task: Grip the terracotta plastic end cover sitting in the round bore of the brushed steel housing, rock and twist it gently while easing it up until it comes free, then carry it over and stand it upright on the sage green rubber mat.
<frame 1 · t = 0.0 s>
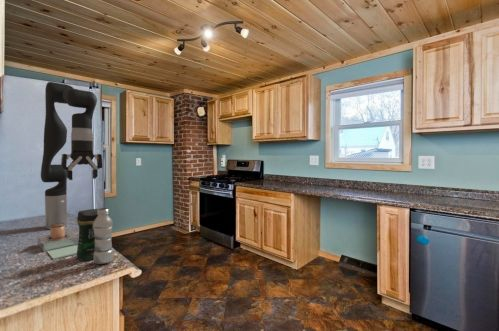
hand: (82, 179, 108), 29 cm above the counter, tool pointing down, fingers open, 8 cm apart
end cover: (57, 234, 114), in the housing
coffee jar: (92, 257, 102), on the counter
plastic bottle: (103, 263, 97), on the counter
housing: (57, 244, 114), on the counter
mat: (65, 252, 106), on the counter
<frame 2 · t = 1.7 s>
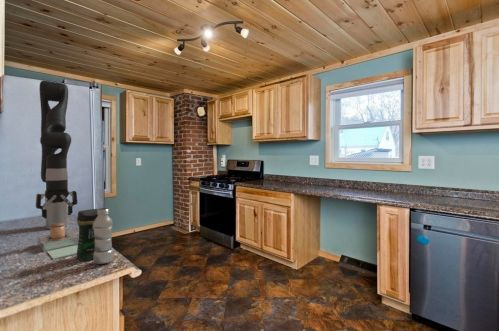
hand: (57, 216, 113), 13 cm above the counter, tool pointing down, fingers open, 8 cm apart
nothing on the counter moved.
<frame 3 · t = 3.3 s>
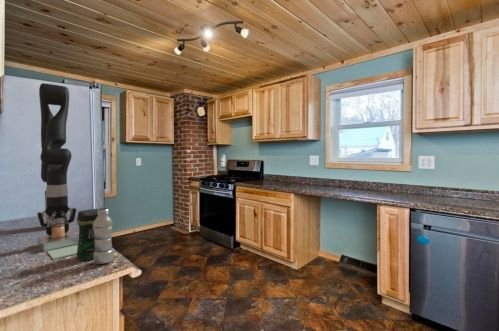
hand: (57, 233, 114), 5 cm above the counter, tool pointing down, fingers closed on end cover, 5 cm apart
end cover: (57, 234, 114), in the housing, touching gripper
everything else where it was.
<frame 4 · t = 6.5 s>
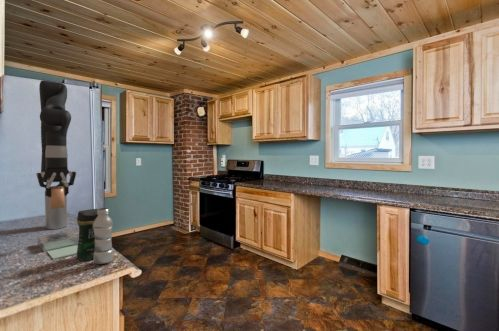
hand: (57, 195, 113), 21 cm above the counter, tool pointing down, fingers closed on end cover, 5 cm apart
end cover: (57, 197, 113), point 21 cm above the counter, touching gripper
everything else where it was.
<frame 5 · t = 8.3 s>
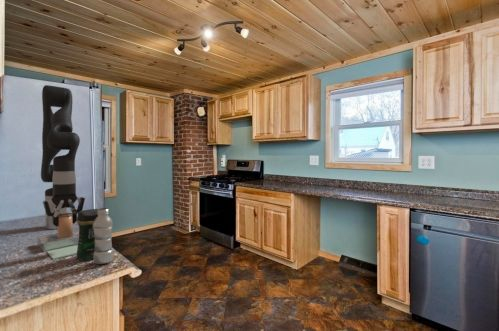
hand: (65, 224, 105), 11 cm above the counter, tool pointing down, fingers closed on end cover, 5 cm apart
end cover: (65, 225, 105), point 11 cm above the counter, touching gripper
everything else where it was.
when the fingers open (7 cm above the counter, at t = 9.7 s): end cover drops 1 cm, resting on mat.
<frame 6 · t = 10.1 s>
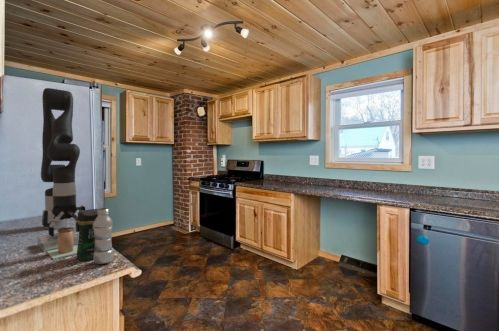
hand: (65, 233, 105), 8 cm above the counter, tool pointing down, fingers open, 8 cm apart
end cover: (65, 240, 106), on the mat
everything else where it was.
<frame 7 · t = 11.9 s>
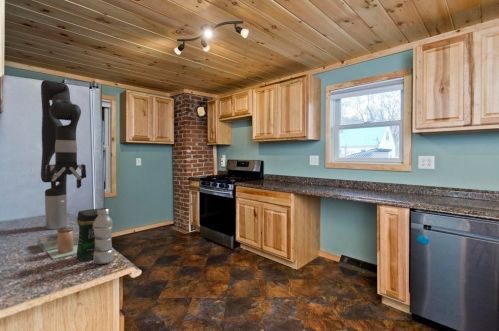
hand: (66, 188, 112), 25 cm above the counter, tool pointing down, fingers open, 8 cm apart
nothing on the counter moved.
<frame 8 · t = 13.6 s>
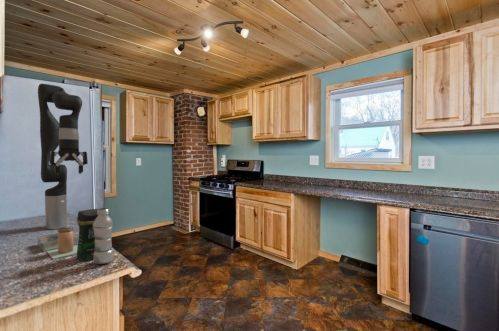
hand: (69, 174, 121), 30 cm above the counter, tool pointing down, fingers open, 8 cm apart
nothing on the counter moved.
at the end: end cover inside the target area on the mat (0.1 cm from its centre), point 4.9 cm above the mat's base; end cover tilted 1°; the gripper is holding nothing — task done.
